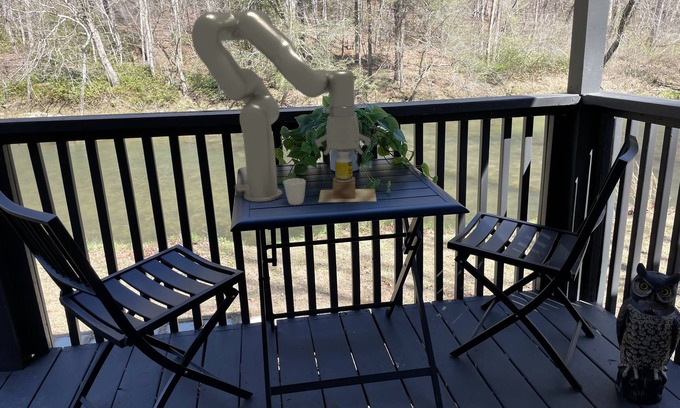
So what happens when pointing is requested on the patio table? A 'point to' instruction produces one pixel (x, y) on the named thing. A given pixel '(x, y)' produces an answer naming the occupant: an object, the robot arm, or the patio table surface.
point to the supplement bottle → (343, 166)
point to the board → (360, 196)
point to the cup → (295, 190)
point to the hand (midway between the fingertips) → (343, 165)
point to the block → (344, 189)
